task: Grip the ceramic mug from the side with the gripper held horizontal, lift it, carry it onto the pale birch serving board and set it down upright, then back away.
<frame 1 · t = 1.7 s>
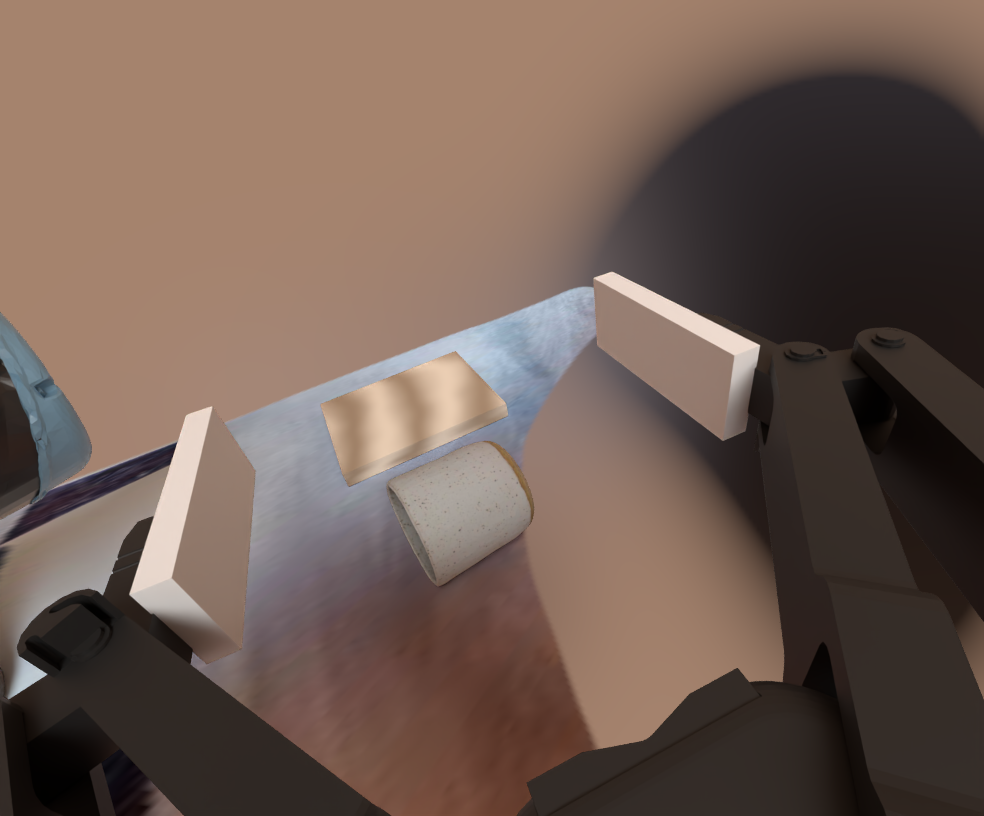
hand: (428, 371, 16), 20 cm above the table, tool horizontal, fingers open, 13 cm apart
birch board: (411, 415, 49), on the table
ceramic mug: (460, 532, 36), on the table
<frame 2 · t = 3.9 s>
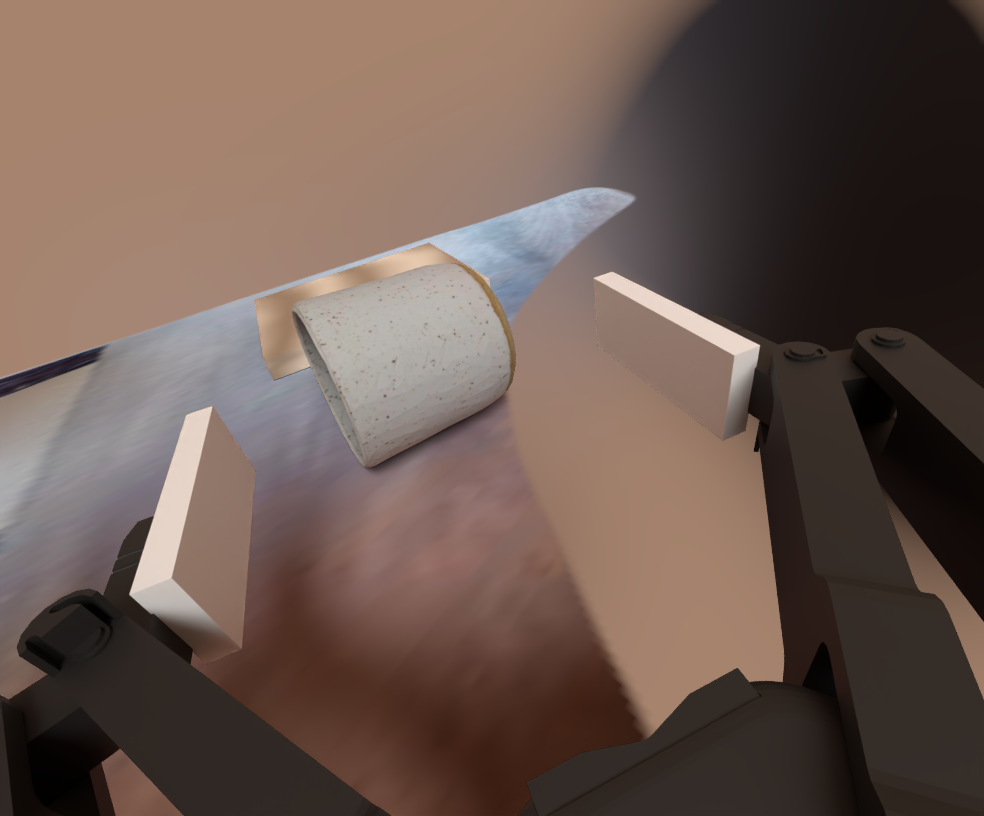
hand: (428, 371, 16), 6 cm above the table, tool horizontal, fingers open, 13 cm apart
birch board: (368, 307, 38), on the table
ceramic mug: (414, 414, 25), on the table
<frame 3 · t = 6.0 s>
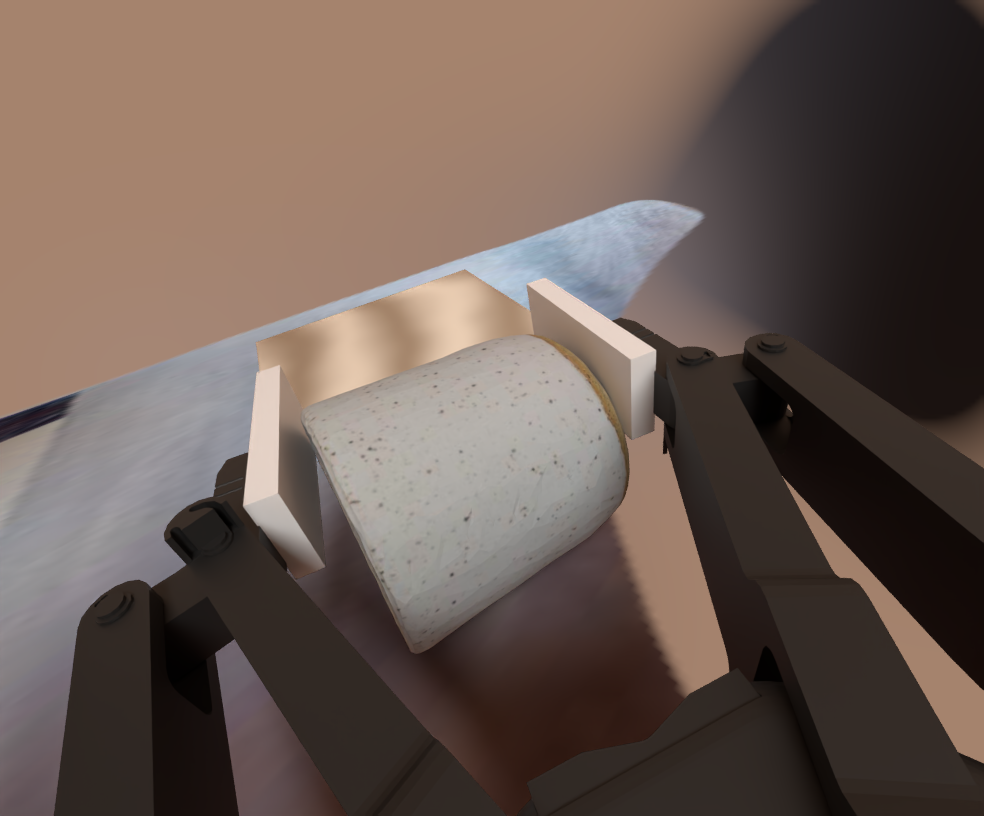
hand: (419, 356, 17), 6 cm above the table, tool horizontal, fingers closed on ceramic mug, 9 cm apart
birch board: (396, 355, 31), on the table
ceramic mug: (465, 529, 18), on the table, touching gripper
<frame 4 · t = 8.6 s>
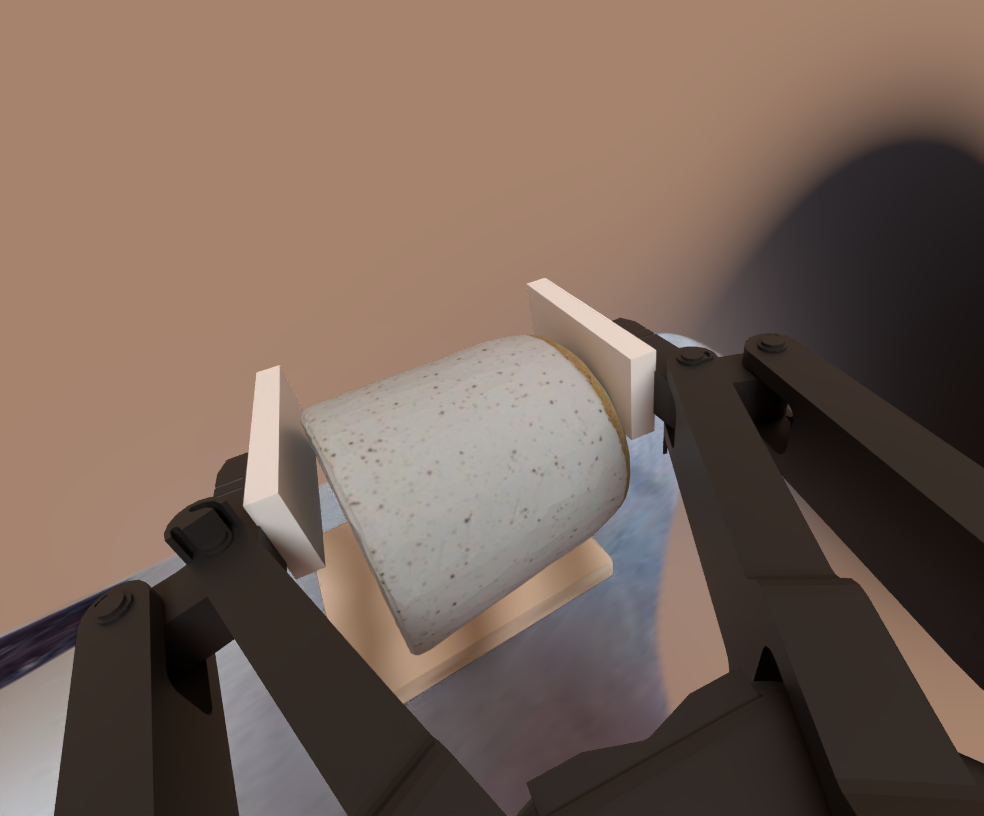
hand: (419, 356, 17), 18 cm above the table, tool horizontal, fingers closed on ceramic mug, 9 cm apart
birch board: (452, 563, 31), on the table
ceramic mug: (465, 530, 18), point 12 cm above the table, touching gripper
when the fingers open (8 cm above the table, at t = 11.5 s): ceramic mug stays where it is, resting on birch board.
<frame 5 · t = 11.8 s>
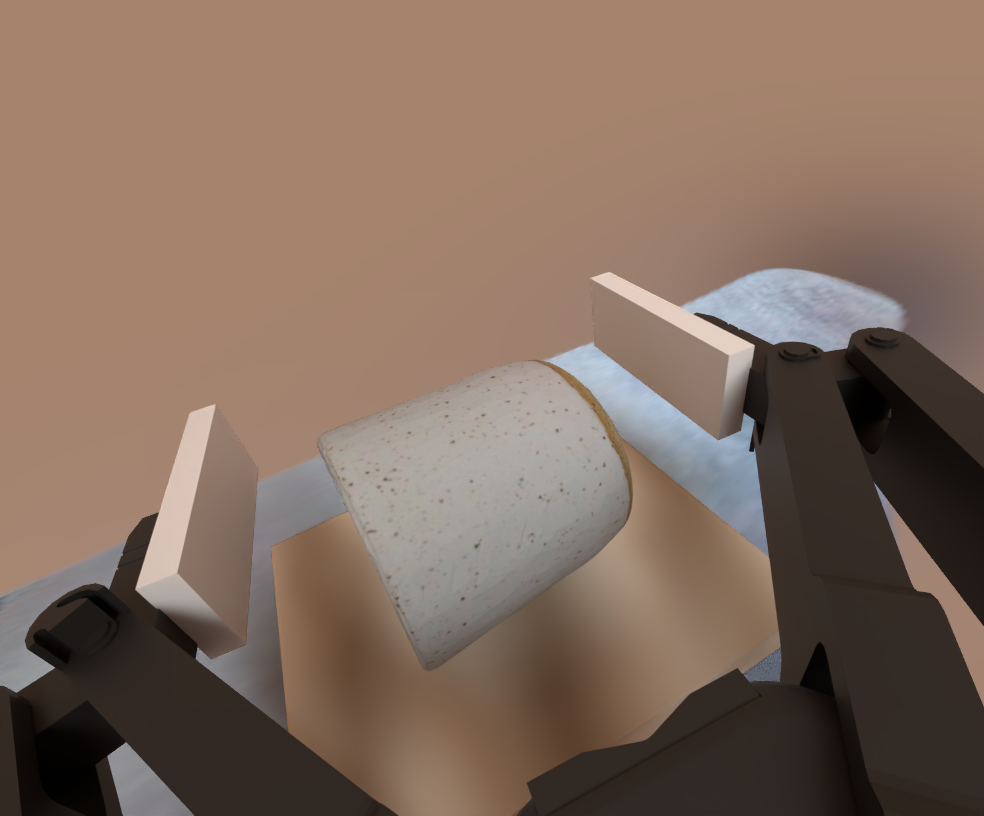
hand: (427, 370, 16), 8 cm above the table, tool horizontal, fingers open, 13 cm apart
birch board: (505, 591, 18), on the table
ceramic mug: (473, 545, 19), point 1 cm above the table, touching birch board
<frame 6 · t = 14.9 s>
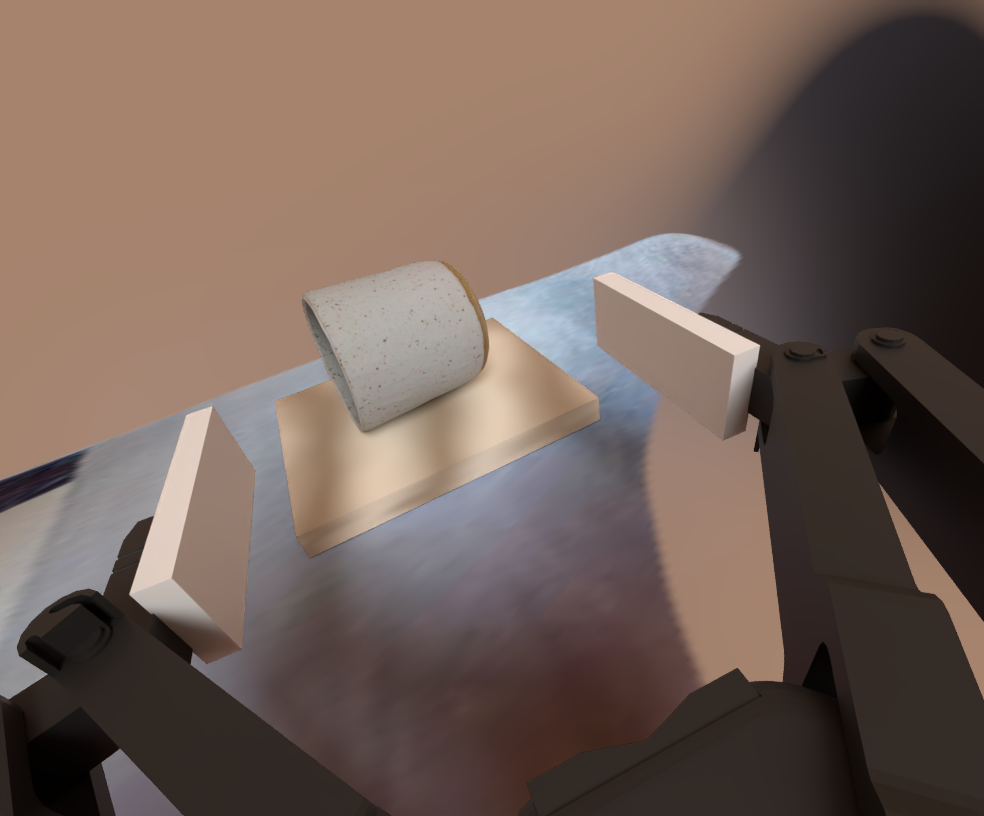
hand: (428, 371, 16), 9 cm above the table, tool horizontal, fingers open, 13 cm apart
birch board: (425, 419, 29), on the table
ceramic mug: (405, 391, 29), point 1 cm above the table, touching birch board
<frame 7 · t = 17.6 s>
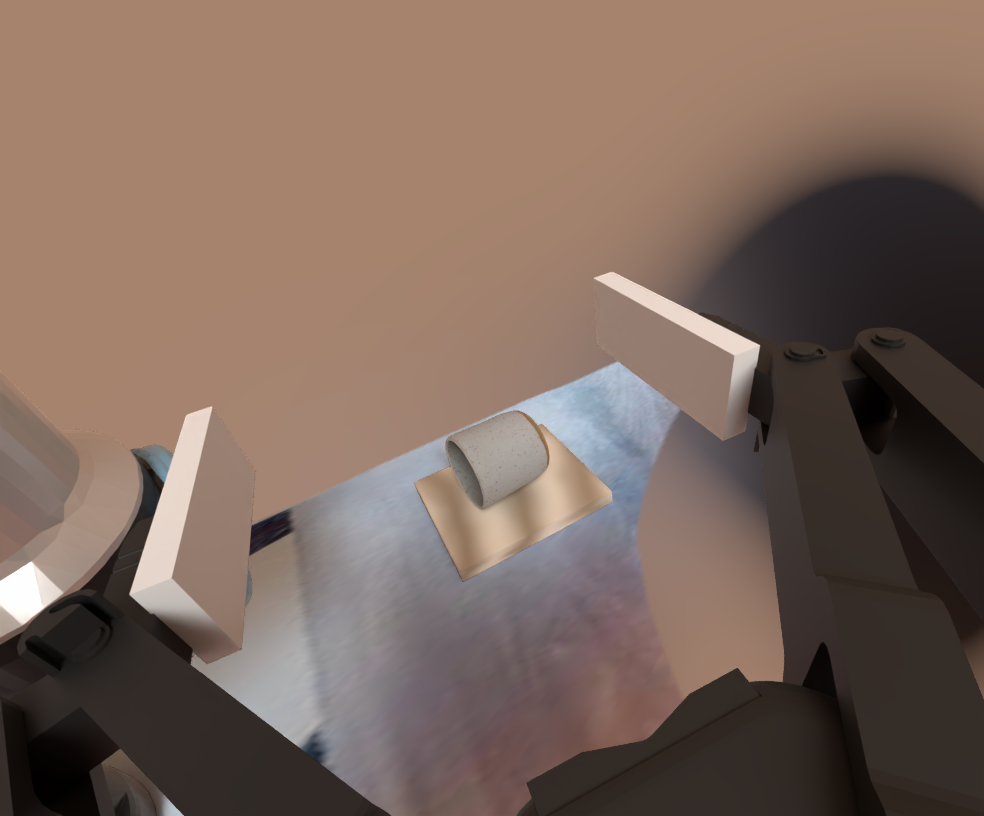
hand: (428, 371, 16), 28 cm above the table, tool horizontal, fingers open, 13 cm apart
birch board: (509, 496, 49), on the table
ceramic mug: (495, 478, 49), point 1 cm above the table, touching birch board
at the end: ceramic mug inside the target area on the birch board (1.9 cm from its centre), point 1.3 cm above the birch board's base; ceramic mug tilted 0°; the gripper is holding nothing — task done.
